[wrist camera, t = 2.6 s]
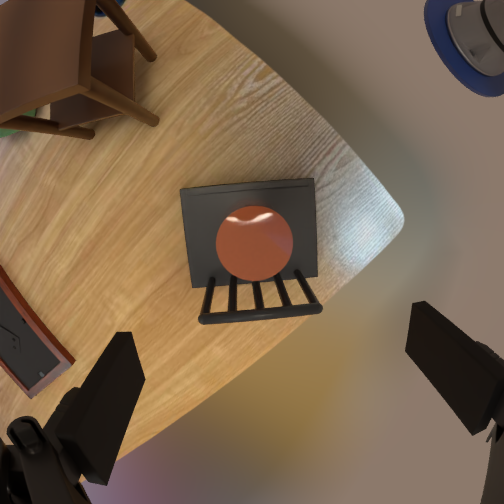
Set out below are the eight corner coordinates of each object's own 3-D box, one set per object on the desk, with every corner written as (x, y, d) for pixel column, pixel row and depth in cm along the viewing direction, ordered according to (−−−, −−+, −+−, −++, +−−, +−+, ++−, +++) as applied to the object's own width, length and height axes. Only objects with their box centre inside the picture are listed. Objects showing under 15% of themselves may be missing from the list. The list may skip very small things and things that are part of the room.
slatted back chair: (312, 177, 41) (345, 181, 28) (316, 274, 45) (345, 315, 32) (180, 188, 41) (155, 197, 28) (193, 285, 45) (176, 331, 32)
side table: (158, 50, 36) (92, -41, 12) (161, 126, 39) (78, 84, 16) (84, 69, 35) (-16, 15, 12) (85, 142, 38) (-32, 131, 15)
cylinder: (278, 195, 41) (290, 202, 31) (282, 253, 43) (294, 277, 33) (218, 200, 41) (211, 209, 31) (224, 258, 43) (220, 284, 33)
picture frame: (-35, 308, 44) (34, 394, 50) (-40, 312, 42) (30, 399, 48) (-6, 255, 42) (75, 360, 48) (-12, 258, 40) (71, 366, 46)
